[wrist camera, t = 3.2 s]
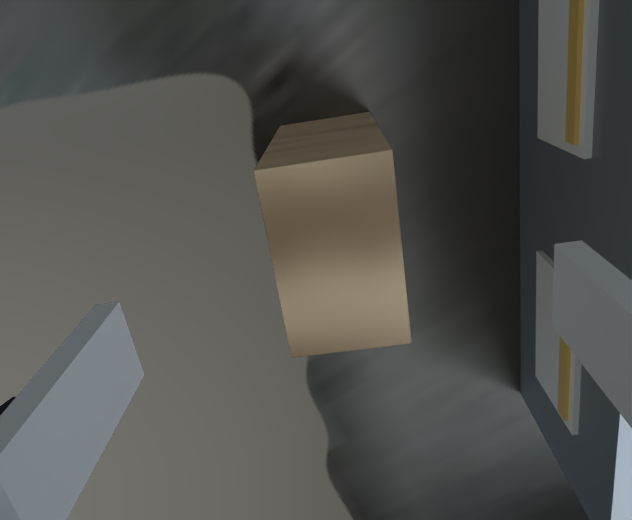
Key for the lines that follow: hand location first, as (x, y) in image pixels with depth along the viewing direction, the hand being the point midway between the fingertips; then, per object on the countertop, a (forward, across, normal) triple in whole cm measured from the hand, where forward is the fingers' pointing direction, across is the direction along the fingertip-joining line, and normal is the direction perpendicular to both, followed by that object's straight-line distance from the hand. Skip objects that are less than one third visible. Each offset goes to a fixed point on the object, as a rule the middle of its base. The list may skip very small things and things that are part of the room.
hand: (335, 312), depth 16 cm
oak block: (+16, 0, 0) cm, 16 cm away
